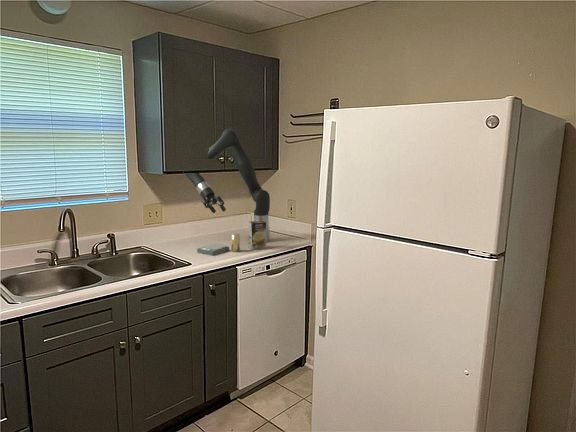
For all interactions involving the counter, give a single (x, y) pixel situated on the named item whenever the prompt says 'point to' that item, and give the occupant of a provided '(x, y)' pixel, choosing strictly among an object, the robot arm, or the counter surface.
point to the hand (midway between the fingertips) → (219, 211)
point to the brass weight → (235, 242)
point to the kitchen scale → (213, 249)
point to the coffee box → (257, 235)
